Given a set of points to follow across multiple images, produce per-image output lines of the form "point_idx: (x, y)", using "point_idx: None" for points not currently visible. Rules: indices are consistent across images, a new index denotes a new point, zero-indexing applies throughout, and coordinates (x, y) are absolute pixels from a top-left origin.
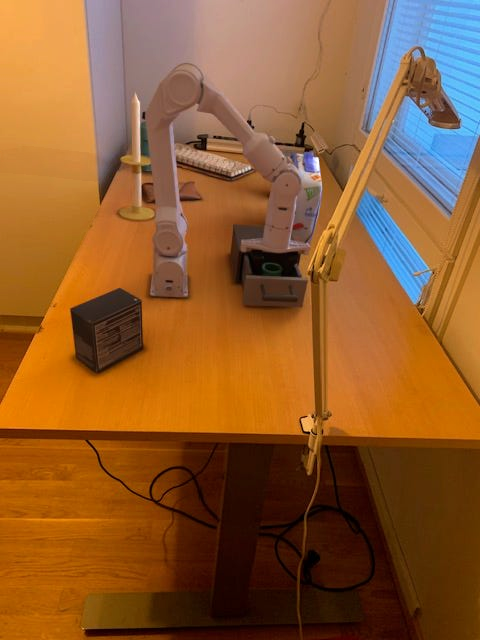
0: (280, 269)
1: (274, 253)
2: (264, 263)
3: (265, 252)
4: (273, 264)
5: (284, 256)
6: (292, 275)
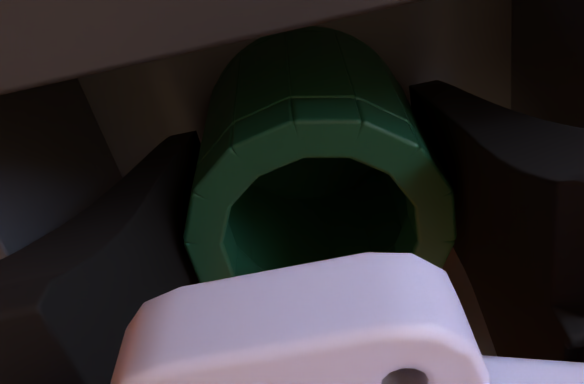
0: (425, 256)
1: (353, 14)
2: (214, 176)
3: (174, 53)
4: (339, 156)
5: (522, 279)
6: (563, 113)
